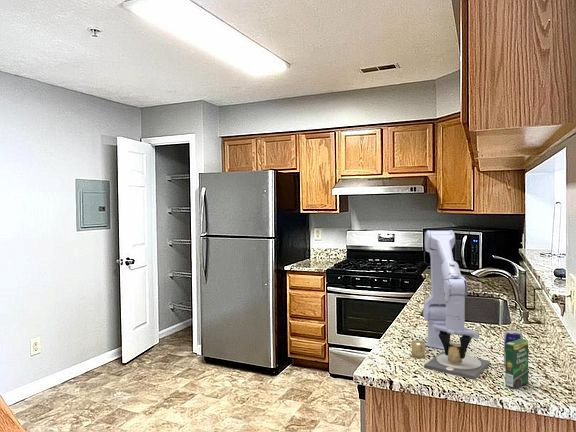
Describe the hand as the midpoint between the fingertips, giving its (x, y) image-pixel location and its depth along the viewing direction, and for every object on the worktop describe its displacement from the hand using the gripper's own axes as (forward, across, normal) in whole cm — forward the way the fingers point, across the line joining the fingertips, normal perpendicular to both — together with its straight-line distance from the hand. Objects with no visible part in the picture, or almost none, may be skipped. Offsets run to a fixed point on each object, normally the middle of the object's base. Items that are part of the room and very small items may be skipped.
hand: (455, 356), depth 147 cm
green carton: (+4, +19, -2) cm, 20 cm away
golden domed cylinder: (+1, 0, 0) cm, 1 cm away
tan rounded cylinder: (+4, -14, +4) cm, 15 cm away
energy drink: (+4, +15, +12) cm, 19 cm away
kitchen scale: (+4, 0, +2) cm, 5 cm away
